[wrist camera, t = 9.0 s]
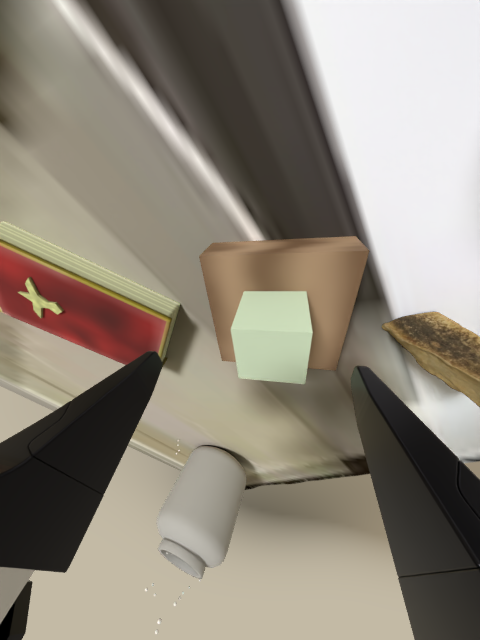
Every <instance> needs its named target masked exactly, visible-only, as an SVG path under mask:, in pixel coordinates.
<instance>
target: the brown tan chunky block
mask: <svg viewBox="0 0 480 640" xmlns="http://www.w3.org/2000/svg"><path fill="white" fill-rule="evenodd" d="M382 328H383V329H384V330H386V331H388V332H389V333H390V334H391V335H392V336H393V337H394V338H395V339H396V340H397V341H398V342H399V343H400V344H401V345H402V347H404V348H405V349H406V350H408V351H409V352H410V353H411V354H412V355H413V357H414V358H415V359H416V361H417V363H418V364H419V365H420V366H421V367H422V368H424V369H425V370H426V371H428V372H429V373H430V374H432V375H435V376H437V377H438V378H439V379H441V380H443V381H444V382H445V383H446V384H447V385H448V386H449V387H451V388H452V389H455V390H457V391H459V392H462V393H463V394H465V395H466V396H467V397H469V398H470V399H471V400H472V401H473V402H475V403H476V404H477V405H478V406H479V407H480V337H479V336H478V335H476V334H475V333H473V332H471V331H469V330H468V329H466V328H463V327H462V326H461V325H459V324H458V323H456V322H455V321H453V320H451V319H449V318H447V317H445V316H444V315H442V314H440V313H438V312H428V313H421V314H415V315H409V316H404V317H401V318H398V319H395V320H393V321H391V322H389V323H385V324H383V325H382Z"/></svg>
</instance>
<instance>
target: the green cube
mask: <svg viewBox="0 0 480 640" xmlns="http://www.w3.org/2000/svg"><path fill="white" fill-rule="evenodd" d="M312 334H313V332H312V325H311V318H310V312H309V305H308V298H307V292H306V291H244V292H243V295H242V298H241V301H240V304H239V307H238V310H237V312H236V315H235V318H234V321H233V324H232V327H231V335H232V340H233V346H234V352H235V358H236V364H237V370H238V376H239V378H243V379H253V380H264V381H275V382H285V383H296V384H305V381H306V374H307V367H308V361H309V354H310V347H311V340H312Z"/></svg>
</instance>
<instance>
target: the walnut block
mask: <svg viewBox="0 0 480 640" xmlns="http://www.w3.org/2000/svg"><path fill="white" fill-rule="evenodd" d="M368 254H369V250H368V249H367V248H366V247H365V246H364V245H363V244H362V243H361V242H360V241H359V239H358V238H357V237H356V236H351V237H329V238H308V239H287V240H265V241H244V242H223V243H212V244H211V245H210V246H209V247H208V248H207V249H206V250H205V251H204V252H203V253H202V254H201V255H200V256H199V258H200V262H201V267H202V271H203V276H204V281H205V285H206V290H207V294H208V299H209V303H210V308H211V313H212V317H213V322H214V326H215V331H216V335H217V340H218V345H219V349H220V354H221V358H222V361H231V362H236V358H235V352H234V346H233V340H232V335H231V327H232V324H233V321H234V318H235V315H236V312H237V310H238V307H239V304H240V301H241V298H242V295H243V292H244V291H306V292H307V298H308V305H309V312H310V318H311V325H312V332H313V334H312V340H311V347H310V354H309V361H308V367H307V368H313V369H325V370H336V368H337V364H338V361H339V357H340V353H341V350H342V346H343V343H344V339H345V336H346V332H347V329H348V325H349V321H350V318H351V314H352V311H353V307H354V304H355V300H356V296H357V293H358V289H359V286H360V282H361V279H362V275H363V272H364V268H365V264H366V261H367V257H368Z"/></svg>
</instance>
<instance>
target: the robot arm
mask: <svg viewBox="0 0 480 640" xmlns="http://www.w3.org/2000/svg"><path fill="white" fill-rule="evenodd" d="M162 365H163V363H162V360H161V358H160V357H159V355H158V353H157V352H156V351H147V352H146V353H144V354H143V355H141V356H139V357H138V358H136V359H135V360H133V361H132V362H130V363H129V364H127V365H126V366H124V367H122V368H121V369H119V370H118V371H116V372H115V373H113V374H112V375H110V376H108V377H107V378H105V379H104V380H102V381H101V382H99V383H98V384H96V385H95V386H93V387H91V388H90V389H88V390H87V391H85V392H84V393H82V394H81V395H79V396H77V397H76V398H74V399H73V400H72V401H70V402H68V403H67V404H65V405H63V406H62V407H60V408H59V409H57V410H56V411H54V412H53V413H51V414H49V415H48V416H46V417H44V418H43V419H41V420H39V421H38V422H36V423H34V424H32V425H31V426H29V427H27V428H26V429H24V430H22V431H21V432H19V433H17V434H15V435H14V436H12V437H10V438H8V439H7V440H5V441H3V442H1V443H0V640H22V638H23V636H24V634H25V631H26V624H27V616H28V610H29V603H30V595H31V588H32V581H30V580H29V578H30V577H31V575H32V573H33V572H34V570H41V571H53V572H64V573H65V572H66V571H67V569H68V568H69V566H70V564H71V562H72V560H73V558H74V556H75V554H76V552H77V550H78V548H79V545H80V543H81V541H82V539H83V537H84V535H85V533H86V531H87V529H88V527H89V525H90V523H91V521H92V518H93V516H94V514H95V512H96V510H97V508H98V506H99V504H100V502H101V500H102V498H103V494H104V493H105V491H106V489H107V487H108V485H109V483H110V481H111V479H112V477H113V475H114V473H115V470H116V468H117V466H118V464H119V462H120V460H121V458H122V456H123V454H124V452H125V450H126V448H127V446H128V444H129V441H130V439H131V437H132V435H133V433H134V431H135V429H136V427H137V425H138V423H139V421H140V419H141V417H142V414H143V412H144V410H145V408H146V406H147V404H148V402H149V400H150V398H151V396H152V393H153V391H154V388H155V385H156V383H157V380H158V377H159V374H160V372H161V369H162ZM351 388H352V395H353V402H354V409H355V416H356V422H357V426H358V430H359V433H360V437H361V441H362V445H363V448H364V452H365V456H366V459H367V463H368V467H369V471H370V474H371V478H372V482H373V486H374V489H375V493H376V497H377V500H378V504H379V508H380V511H381V515H382V519H383V523H384V526H385V530H386V534H387V538H388V541H389V545H390V549H391V553H392V556H393V559H394V563H395V567H396V571H397V575H398V577H399V578H398V579H399V583H400V586H401V590H402V594H403V598H404V602H405V605H406V609H407V612H408V616H409V620H410V624H411V628H412V631H413V635H414V639H415V640H480V479H479V478H477V477H476V475H475V474H473V472H472V471H470V469H469V468H468V467H467V466H466V465H465V464H464V463H463V462H462V461H459V459H458V457H457V456H456V455H455V454H454V453H453V452H452V451H451V450H450V449H449V448H448V447H447V446H446V445H445V444H444V443H443V442H442V441H441V440H440V439H439V438H438V437H437V436H436V435H435V434H434V433H433V432H432V431H431V430H430V429H429V428H428V427H427V426H426V425H425V424H424V423H423V422H422V421H421V420H420V419H419V418H418V417H417V416H416V415H415V414H414V413H413V412H412V411H411V410H410V409H409V408H408V407H407V406H406V405H405V404H404V403H403V402H402V401H401V400H400V399H399V398H398V397H397V396H396V395H395V394H394V393H393V392H392V391H391V390H390V389H389V388H388V387H387V386H386V385H385V384H384V383H383V382H382V381H381V380H380V379H379V378H378V377H377V376H376V375H375V374H374V372H373V371H372V370H371V369H370V368H368V367H366V366H356V367H355V368H354V371H353V374H352V377H351Z"/></svg>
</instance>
